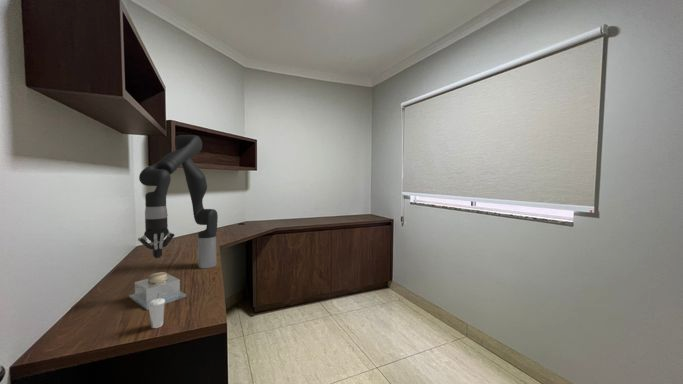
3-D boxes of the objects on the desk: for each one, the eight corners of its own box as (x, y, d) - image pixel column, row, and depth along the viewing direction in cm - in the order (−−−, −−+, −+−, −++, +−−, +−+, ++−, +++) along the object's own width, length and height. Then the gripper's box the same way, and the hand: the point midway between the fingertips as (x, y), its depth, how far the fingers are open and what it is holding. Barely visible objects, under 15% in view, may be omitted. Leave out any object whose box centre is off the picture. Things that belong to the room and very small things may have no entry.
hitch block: (129, 297, 107) (129, 281, 106) (167, 286, 118) (166, 271, 118) (146, 310, 97) (146, 291, 96) (185, 296, 108) (185, 280, 108)
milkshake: (166, 319, 90) (166, 292, 90) (164, 327, 85) (164, 298, 85) (150, 323, 88) (150, 294, 88) (147, 331, 83) (147, 301, 83)
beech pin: (146, 294, 107) (145, 275, 106) (163, 289, 112) (163, 271, 112) (152, 298, 103) (152, 278, 103) (170, 292, 108) (169, 274, 108)
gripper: (170, 214, 114) (170, 252, 114) (133, 218, 103) (134, 260, 103) (177, 215, 109) (178, 255, 110) (140, 219, 98) (142, 263, 99)
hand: (157, 257), depth 107 cm, fingers closed
